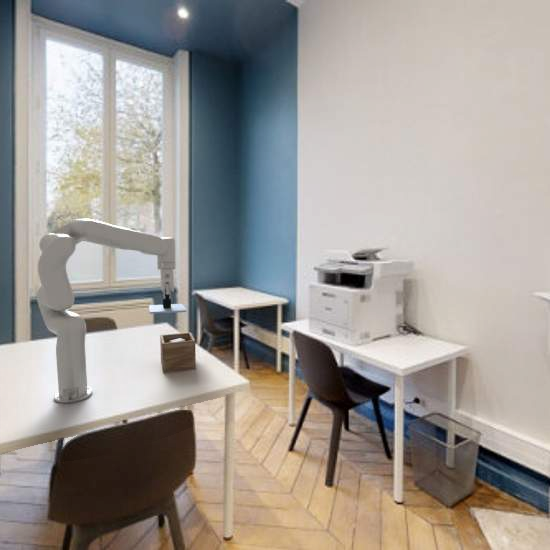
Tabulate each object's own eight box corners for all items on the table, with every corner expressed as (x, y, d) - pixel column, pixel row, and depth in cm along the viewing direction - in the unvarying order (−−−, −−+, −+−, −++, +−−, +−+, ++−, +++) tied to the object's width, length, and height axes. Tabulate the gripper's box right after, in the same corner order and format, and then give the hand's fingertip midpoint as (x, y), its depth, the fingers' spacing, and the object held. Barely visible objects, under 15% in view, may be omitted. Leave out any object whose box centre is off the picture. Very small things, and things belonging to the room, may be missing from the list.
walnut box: (195, 369, 173) (195, 340, 172) (163, 372, 169) (162, 343, 167) (191, 358, 187) (190, 332, 185) (160, 362, 182) (160, 335, 180)
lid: (186, 312, 168) (186, 297, 167) (149, 313, 163) (149, 299, 163) (182, 305, 182) (182, 292, 182) (148, 306, 177) (148, 293, 177)
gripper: (177, 267, 164) (177, 310, 166) (173, 263, 179) (174, 303, 182) (158, 267, 162) (158, 311, 164) (156, 264, 177) (157, 304, 179)
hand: (166, 306), depth 173 cm, fingers closed on lid, 3 cm apart
